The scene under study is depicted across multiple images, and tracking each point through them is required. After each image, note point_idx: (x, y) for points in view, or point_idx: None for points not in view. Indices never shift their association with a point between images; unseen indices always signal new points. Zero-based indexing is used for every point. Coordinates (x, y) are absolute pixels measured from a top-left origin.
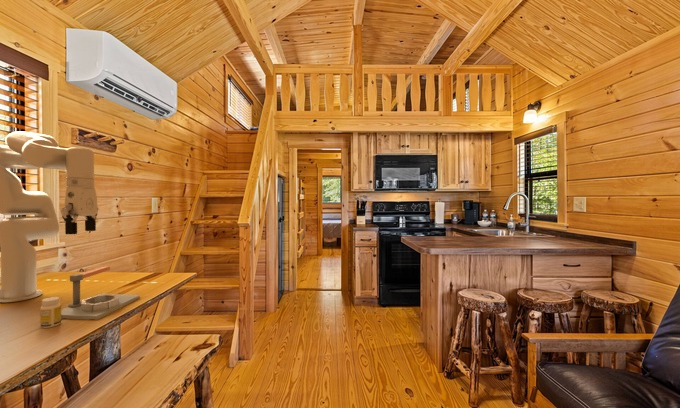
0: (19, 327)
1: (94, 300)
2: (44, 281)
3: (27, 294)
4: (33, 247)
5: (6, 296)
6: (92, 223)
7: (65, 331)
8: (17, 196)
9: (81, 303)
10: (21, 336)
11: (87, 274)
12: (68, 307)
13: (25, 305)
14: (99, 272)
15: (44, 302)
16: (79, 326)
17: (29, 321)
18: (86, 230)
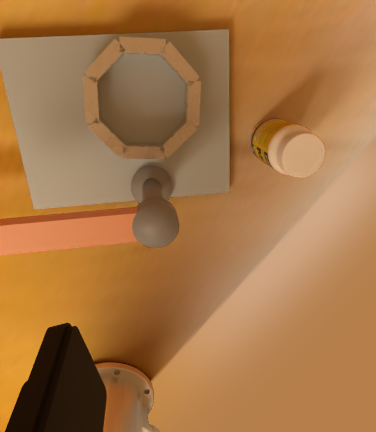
0: (286, 202)
1: (126, 143)
2: None
3: (112, 379)
4: None
5: (142, 400)
6: (61, 421)
7: (309, 55)
8: None
9: (193, 132)
10: (336, 144)
11: (111, 213)
12: (173, 191)
13: (156, 328)
14: (38, 217)
15: (323, 153)
16: (276, 44)
17: (251, 216)
18: (102, 385)
